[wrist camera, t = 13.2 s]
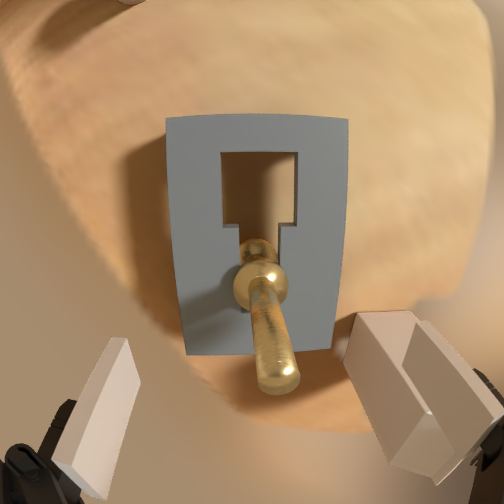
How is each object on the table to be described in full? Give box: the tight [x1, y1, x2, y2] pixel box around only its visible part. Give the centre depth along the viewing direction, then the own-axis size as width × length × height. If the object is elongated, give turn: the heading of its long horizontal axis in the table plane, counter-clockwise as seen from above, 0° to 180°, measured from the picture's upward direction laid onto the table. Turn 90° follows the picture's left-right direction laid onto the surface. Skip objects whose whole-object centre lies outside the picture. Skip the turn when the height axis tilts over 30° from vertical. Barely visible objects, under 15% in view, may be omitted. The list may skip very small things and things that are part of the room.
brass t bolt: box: [233, 238, 301, 395], centre depth 18 cm, size 4×4×15 cm
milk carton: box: [343, 310, 463, 485], centre depth 22 cm, size 7×7×19 cm
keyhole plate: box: [166, 114, 348, 355], centre depth 23 cm, size 18×12×6 cm, turn 1°
